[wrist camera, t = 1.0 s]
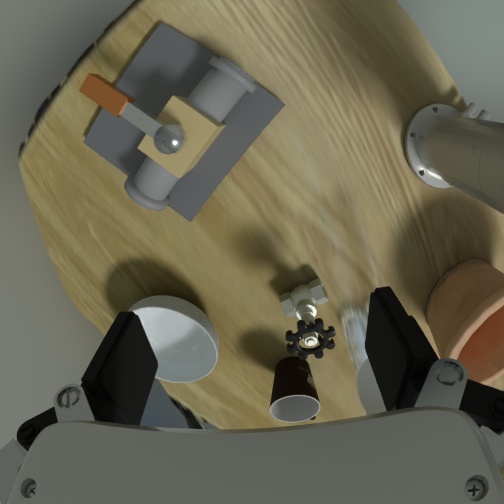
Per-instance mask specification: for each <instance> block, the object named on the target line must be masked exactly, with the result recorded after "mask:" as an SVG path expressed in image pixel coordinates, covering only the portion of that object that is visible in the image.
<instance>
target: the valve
mask: <svg viewBox="0 0 504 504" xmlns="http://www.w3.org/2000/svg"><path fill="white" fill-rule="evenodd" d="M279 300H280V304H281V307H282V309H283V311H284V313H285V315H286V316H287V317H289V318H291V317H294V316H297V318H298V319H300V320H299V321H298V322H297V329H298V331H297V332H296V333H295V334H294V333H292V330H289V331H287V332H286V340H287V341H289V342H292V341H293V344H292V345H290V343H288V344H287V352H288V353H294V352H295V351H298V354H299V359H300V360H305V359H307V356H308V355H309V354H314V355H315V357H316V358H318V359H319V358H322V357H323V349H324V348H327V349H333V348H334V347H335V343H334V340H333V339H331V340H330V341H329V340H328V339H329V337H334V336H335V334H336V333H335V329H334V327H333V326H329V327H328V328H329V329H328V330H326V331H325V330H324V329H323V327H324V323H323V320H322V319H321V318H317V319H315V321H314V317H315V316H316V313H317V310H316V305H317V304H318V305H321V304H323V303H325V302H328V296H327V293H326V291H325V288H324V286H323V284H322V282H321V281H320V279H318V278H317V279H315V280H313V281H311V282H309V285H308V284H303V285H299V286H297V287H295V288H294V289H293V290H292V291H291V293H290V292H287V293H284V294H282V295H280V298H279ZM314 323H315V324H314ZM317 333H320V334H321V335H322V336H323V337H324V339H323V338H322V337H321V336H320V335H319V334H317ZM301 339H303V340H304V344H305V345H307V346H313V345H315V344H317V340H318V341H319V343H320V345H319V346H317V347H315V348H303V347H301V346H300V345H299V341H300V340H301Z"/></svg>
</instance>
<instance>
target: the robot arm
mask: <svg viewBox="0 0 504 504" xmlns="http://www.w3.org/2000/svg"><path fill="white" fill-rule="evenodd" d="M477 109H478V108H477V106H476V105H475V104H474V103H470V104H469V106H468V107H467V109H466V110H465V111H462V112H461V111H458V110H457V109H455V108H454V107H451V106H449V105H446V104H437V103H435V104H429V105H427V106H424V107H422V108H421V109H420V110H418V111H417V112H416V113H415V115H414V116H413V117H412V119H411V120H410V122H409V124H408V127H407V130H406V135H405V152H406V157H407V160H408V163H409V165H410V167H411V169H412V171H413V172H414V174H415V175H416V176H417V177H418V178H419V179H420V180H421V181H422V182H424V183H426V184H427V185H429V186H432V187H434V188H439V189H445V188H450V187H453V186H454V187H456V188H458V189H460V190H462V191H463V192H465V193H467V194H469V195H471V196H473V197H474V198H476V199H478V200H480V201H482V202H483V203H485V204H487V205H489V206H490V207H492V208H494V209H495V210H497V211H499V212H501V213H502V214H504V123H499V122H494V121H490V120H491V119H492V117H491V115H490V114H489V113H488V112H487V111H486V110H482V111H481V112H480V113H479V115H478V116H477V118H476V119H475V118H471V117H472V115H473V114H475V112H476V111H477ZM411 133H412V136H411ZM419 172H420V173H419ZM365 350H366V353H367V356H368V359H369V361H370V364H371V367H372V370H373V372H374V375H375V378H376V381H377V384H378V387H379V389H380V392H381V395H382V398H383V401H384V404H385V407H386V410H387V412H382V413H377V414H372V415H366V416H361V417H355V418H348V419H342V420H336V421H329V422H322V423H314V424H305V425H296V426H285V427H272V428H255V429H217V430H216V429H179V428H162V427H149V426H139V425H140V421H141V418H142V415H143V412H144V408H145V406H146V402H147V399H148V396H149V393H150V390H151V387H152V384H153V381H154V378H155V375H156V372H157V369H158V361H157V358H156V356H155V354H154V351H153V349H152V347H151V345H150V342H149V340H148V337H147V335H146V333H145V330H144V328H143V325H142V323H141V320H140V318H139V316H138V315H137V314H136V315H135V313H134V312H133V311H126V312H120V313H119V314H118V315H117V317H116V319H115V320H114V322H113V324H112V325H111V327H110V329H109V331H108V332H107V334H106V336H105V337H104V339H103V341H102V343H101V345H100V346H99V348H98V350H97V352H96V353H95V355H94V357H93V359H92V361H91V362H90V364H89V366H88V368H87V370H86V372H85V373H84V375H83V377H82V379H81V381H82V384H81V386H79V385H77V384H69V385H66V386H64V387H62V388H61V389H60V390H59V391H58V392H57V393H56V395H55V397H54V407H52V408H51V409H49V410H47V411H45V412H43V413H41V414H39V415H37V416H35V417H33V418H31V419H30V420H28V421H26V422H24V423H23V424H22V425H21V426H20V427H19V429H18V432H17V440H16V441H15V440H14V439H12V440H11V441H10V442H9V443H8V444H7V445H6V446H4V447H3V448H2V449H1V450H0V501H1V503H2V504H504V391H501V390H498V389H495V388H493V387H490V386H487V385H484V384H481V383H479V382H476V381H473V380H470V379H468V373H467V369H466V368H465V366H464V365H463V364H462V363H461V362H459V361H458V360H455V359H452V358H442V359H439V358H438V357H437V355H436V353H435V352H434V350H433V348H432V346H431V345H430V343H429V341H428V340H427V338H426V336H425V335H424V333H423V331H422V330H421V328H420V326H419V325H418V323H417V321H416V320H415V318H414V317H413V316H411V315H410V316H408V314H407V313H406V311H405V309H404V308H403V306H402V305H401V303H400V301H399V300H398V298H397V297H396V295H395V294H394V292H393V290H392V289H391V287H389V286H387V287H381V288H376V289H375V292H372V293H371V295H370V305H369V314H368V323H367V332H366V340H365Z"/></svg>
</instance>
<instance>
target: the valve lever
mask: <svg viewBox="0 0 504 504" xmlns="http://www.w3.org/2000/svg"><path fill="white" fill-rule="evenodd" d="M79 91H80V92H81V93H83V94H84V95H86V96H87V97H89V98H90V99H92V100H93V101H94V102H96V103H97V104H99V105H100V106H102V107H103V108H104V109H106V110H107V111H109V112H110V113H112V114H113V115H115V116H116V117H123V118H125V119H126V120H128V121H129V122H130V123H132V124H133V125H135V126H136V127H138V128H139V129H140V130H142V131H143V132H145V133H146V134H147V135H149V136H150V137H152V138H153V139H154V145H155V147H156V149H157V150H158V151H159V152H161V153H163V154H173V153H174V154H177V153H179V152H180V151H181V150H182V148H183V147H184V146H185V144H186V143H187V141H188V139H187V135H186V132H185V130H184V129H183V128H182V127H181V126H180V125H177V124H168V125H167V124H165V123H164V122H163V121H161V120H160V119H158V118H157V117H155V116H154V115H153V114H151V113H150V112H148V111H147V110H145V109H144V108H142V107H141V106H139V105H138V104H137V103H135V100H136V99H135V98H133V97H132V96H130V95H129V94H127V93H126V92H124V91H123V90H121V89H120V88H118V87H117V86H115V85H114V84H112V83H111V82H109V81H108V80H106V79H105V78H103V77H102V76H100V75H98V74H91V73H89V74H88V76H87V78H86V79H85V81H84V83H83V84H82V86H81V88H80V90H79Z"/></svg>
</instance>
